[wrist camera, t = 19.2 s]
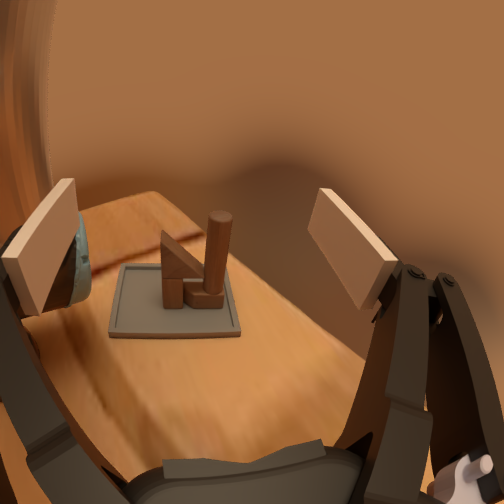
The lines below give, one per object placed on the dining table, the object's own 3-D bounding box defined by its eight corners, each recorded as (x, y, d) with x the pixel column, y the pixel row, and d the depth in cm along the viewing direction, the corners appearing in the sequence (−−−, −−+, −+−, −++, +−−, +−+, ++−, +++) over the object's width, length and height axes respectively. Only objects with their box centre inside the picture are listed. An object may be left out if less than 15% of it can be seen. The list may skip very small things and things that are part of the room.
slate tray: (109, 337, 41) (108, 332, 41) (122, 268, 56) (121, 263, 55) (240, 336, 47) (241, 331, 46) (225, 269, 61) (225, 264, 61)
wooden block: (163, 295, 51) (161, 207, 41) (220, 295, 54) (232, 209, 44) (163, 309, 48) (159, 219, 38) (223, 309, 51) (236, 221, 41)
